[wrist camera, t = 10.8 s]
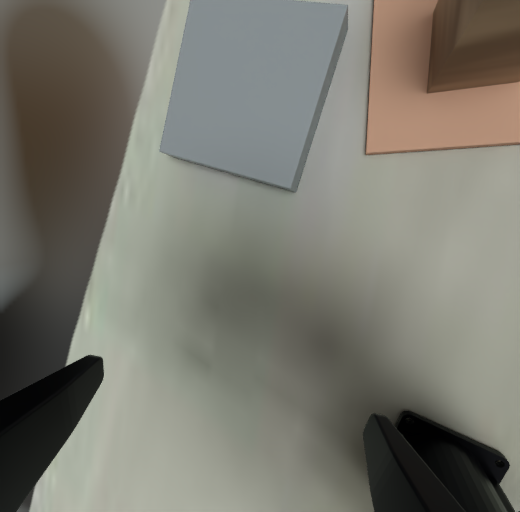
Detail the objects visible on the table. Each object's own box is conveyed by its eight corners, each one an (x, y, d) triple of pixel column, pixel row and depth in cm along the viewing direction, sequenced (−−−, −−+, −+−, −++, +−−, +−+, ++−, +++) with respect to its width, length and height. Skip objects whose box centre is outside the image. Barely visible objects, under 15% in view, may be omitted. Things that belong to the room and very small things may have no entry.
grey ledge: (347, 28, 17) (348, 4, 16) (295, 192, 20) (290, 188, 18) (206, 13, 20) (192, -8, 18) (175, 157, 23) (159, 151, 21)
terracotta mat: (580, 140, 14) (587, 137, 14) (365, 154, 18) (366, 153, 17) (612, -88, 13) (622, -100, 13) (375, -26, 17) (376, -33, 16)
